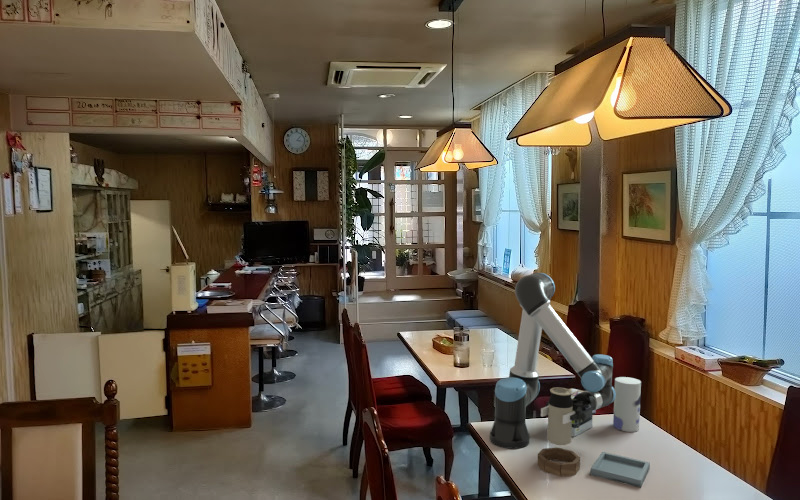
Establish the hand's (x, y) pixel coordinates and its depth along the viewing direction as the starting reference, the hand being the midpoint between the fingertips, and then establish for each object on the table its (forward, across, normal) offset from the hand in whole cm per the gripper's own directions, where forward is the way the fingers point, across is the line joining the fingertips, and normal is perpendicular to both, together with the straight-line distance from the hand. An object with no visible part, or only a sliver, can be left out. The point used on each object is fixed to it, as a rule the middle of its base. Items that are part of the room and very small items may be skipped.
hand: (552, 416), depth 198 cm
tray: (-17, -16, -19) cm, 31 cm away
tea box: (-40, +15, -20) cm, 47 cm away
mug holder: (-5, 0, -19) cm, 20 cm away
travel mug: (-5, 0, -10) cm, 11 cm away
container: (-58, +2, -19) cm, 61 cm away
